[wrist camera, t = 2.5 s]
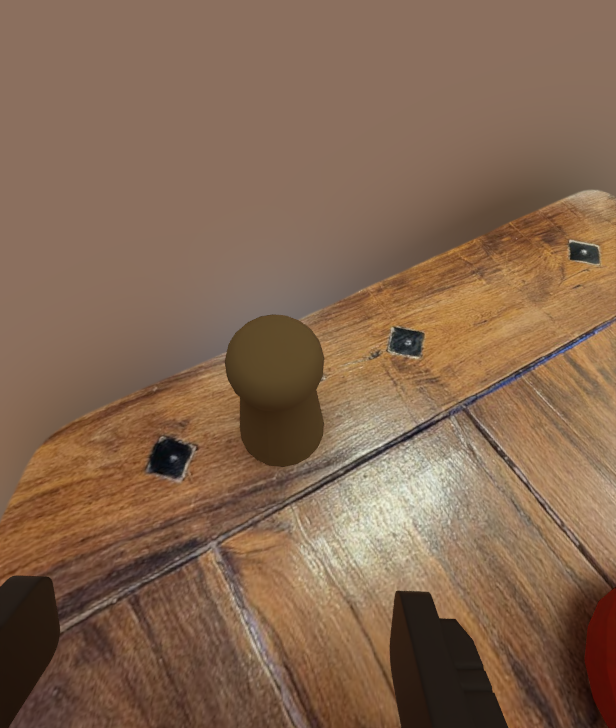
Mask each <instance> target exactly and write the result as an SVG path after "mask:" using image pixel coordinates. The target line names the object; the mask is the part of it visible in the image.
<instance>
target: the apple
mask: <svg viewBox="0 0 616 728" xmlns="http://www.w3.org/2000/svg"><path fill="white" fill-rule="evenodd" d="M585 665H586V669H587V674H588V678H589V682H590V687H591V691H592V696H593V700H594V701H595V703H596V705H597V707H598V709H599V711H600V713H601V715H602V717H603V719H604V721H605V723H606V725H607V727H608V728H616V587H615V588H614V589H613V590H611V591H610V592H609V593H608V594H607V595H605V596H604V597H603V598H602V599H601V600H599V602H598V604H597V606H596V609H595V611H594V613H593V616H592V618H591V620H590V623H589V625H588V628H587V639H586V649H585Z"/></svg>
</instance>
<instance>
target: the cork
mask: <svg viewBox="0 0 616 728" xmlns="http://www.w3.org/2000/svg"><path fill="white" fill-rule="evenodd" d="M225 366H226V373H227V377H228V380H229V382H230V384H231V386H232V388H233V389H234V391H235V393H236V394H237V395H238V396H240V431H241V438H242V441H243V443H244V445H245V447H246V449H247V451H248V452H249V453H250V454H252V455H253V456H254V457H255V458H256V459H257V460H259V461H261V462H263V463H265V464H268V465H271V466H281V467H284V466H289V465H294V464H297V463H299V462H301V461H303V460H304V459H306V458H308V457H309V456H310V455H311V454H312V453H313V452H314V451H315V450H316V448H317V447H318V445H319V443H320V441H321V438H322V436H323V426H324V422H323V418H322V413H321V409H320V405H319V400H318V396H317V391H316V389H317V387H318V385H319V382H320V380H321V378H322V375H323V366H324V355H323V352H322V348H321V344H320V342H319V340H318V338H317V337H316V336H315V334H314V333H313V331H312V330H311V329H310V328H309V327H307V326H306V325H305V324H303V323H302V322H300V321H299V320H296V319H293V318H291V317H288V316H283V315H267V316H261V317H259V318H256V319H254V320H252V321H250V322H248V323H247V324H245V325H244V326H243V327H242V328H241V329H240V330H239V331H237V332H236V333H235V335H234V336H233V338H232V340H231V341H230V343H229V345H228V349H227V354H226V359H225Z"/></svg>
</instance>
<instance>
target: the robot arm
mask: <svg viewBox="0 0 616 728" xmlns="http://www.w3.org/2000/svg"><path fill="white" fill-rule="evenodd" d="M59 636H60V625H59V618H58V612H57V606H56V600H55V594H54V587H53V582H52V580H51V579H50V578H49V577H42V576H12V577H10V578H9V579H8V580H7V581H6V582H5V583H4V584H3V585H2V586H1V587H0V728H8V727H9V726H10V724H11V723H12V721H13V720H14V718H15V716H16V715H17V713H18V712H19V710H20V708H21V707H22V705H23V704H24V702H25V701H26V699H27V697H28V696H29V694H30V693H31V691H32V690H33V688H34V686H35V685H36V683H37V682H38V680H39V678H40V677H41V675H42V674H43V672H44V671H45V669H46V667H47V666H48V664H49V663H50V661H51V659H52V657H53V655H54V653H55V651H56V648H57V645H58V641H59ZM390 664H391V673H392V679H393V684H394V690H395V695H396V701H397V706H398V712H399V717H400V723H401V728H508V726H507V723H506V721H505V718H504V716H503V713H502V711H501V708H500V706H499V703H498V701H497V698H496V696H495V693H493V692H492V686H491V684H490V681H489V679H488V676H487V674H486V671H484V669H483V664H482V661H481V659H480V656H479V654H478V651H477V649H476V646H475V644H474V641H473V640H472V638H471V637H470V636H469V635H468V634H467V632H466V631H465V630H464V629H463V628H462V626H461V625H460V624H459V623H458V622H457V620H456V619H441V618H439V616H438V613H437V610H436V608H435V605H434V602H433V599H432V596H431V594H430V593H429V592H419V591H396V593H395V599H394V608H393V617H392V627H391V636H390Z"/></svg>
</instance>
